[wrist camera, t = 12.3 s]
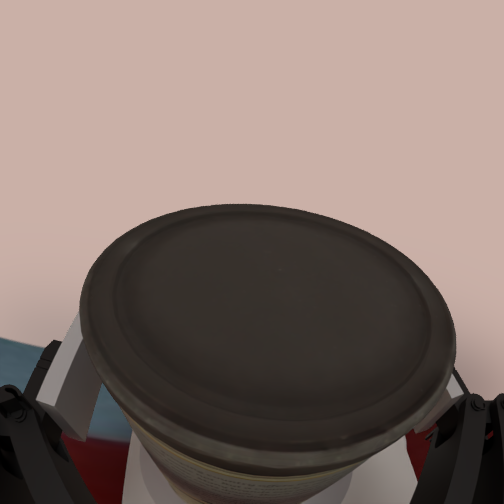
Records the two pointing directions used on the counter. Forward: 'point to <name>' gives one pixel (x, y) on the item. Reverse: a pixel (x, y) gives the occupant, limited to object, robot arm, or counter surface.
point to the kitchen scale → (329, 500)
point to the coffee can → (263, 348)
